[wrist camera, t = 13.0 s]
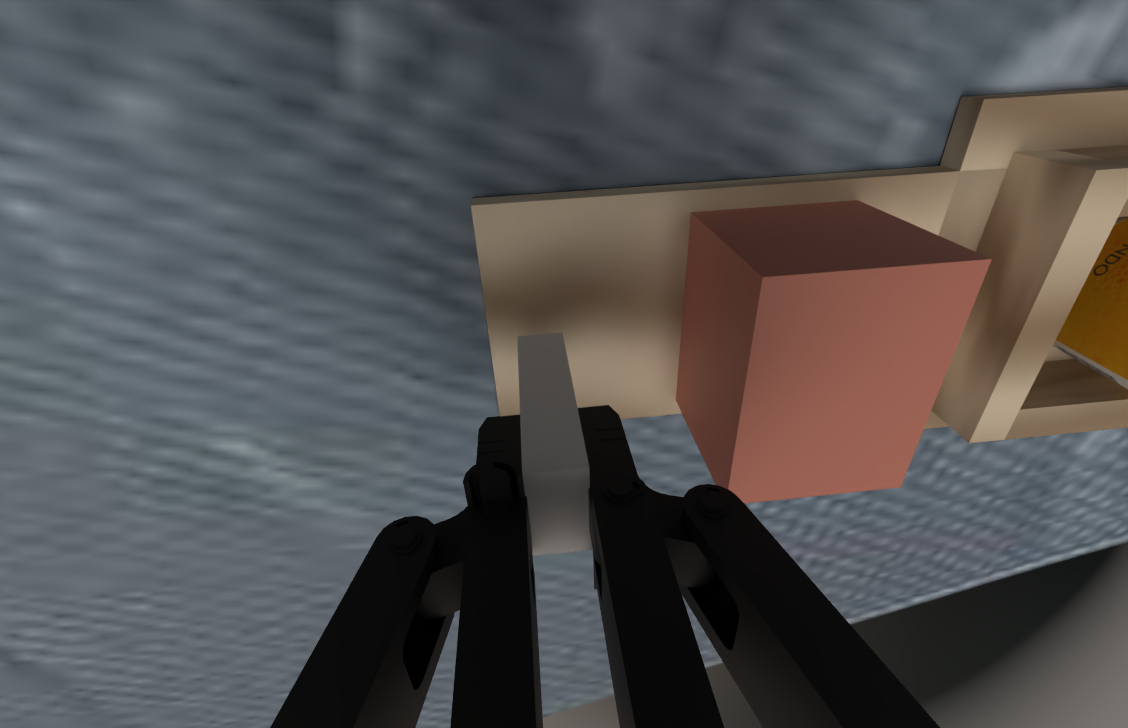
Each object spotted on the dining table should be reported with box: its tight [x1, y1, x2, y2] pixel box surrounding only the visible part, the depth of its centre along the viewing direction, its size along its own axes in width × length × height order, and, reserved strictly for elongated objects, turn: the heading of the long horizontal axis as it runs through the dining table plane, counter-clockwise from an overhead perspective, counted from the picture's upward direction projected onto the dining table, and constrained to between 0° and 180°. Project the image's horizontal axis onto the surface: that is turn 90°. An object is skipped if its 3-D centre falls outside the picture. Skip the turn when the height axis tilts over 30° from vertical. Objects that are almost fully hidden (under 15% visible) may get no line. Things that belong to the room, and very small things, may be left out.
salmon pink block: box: [676, 200, 992, 503], centre depth 18 cm, size 8×6×6 cm
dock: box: [471, 86, 1128, 443], centre depth 20 cm, size 14×31×4 cm, turn 93°
